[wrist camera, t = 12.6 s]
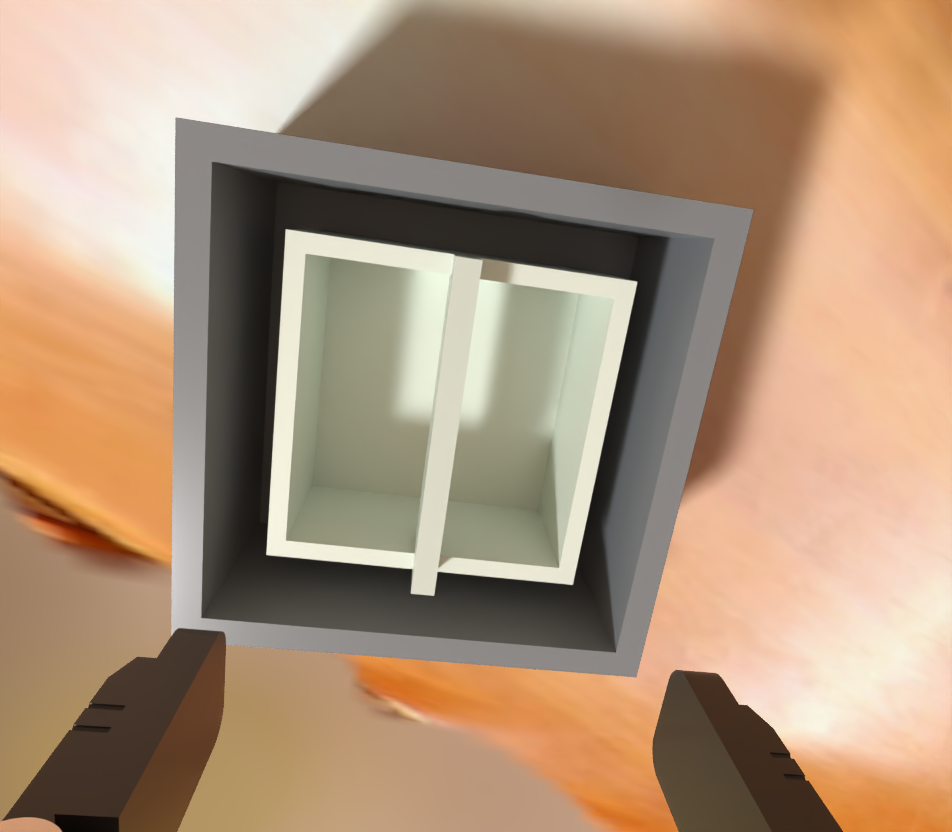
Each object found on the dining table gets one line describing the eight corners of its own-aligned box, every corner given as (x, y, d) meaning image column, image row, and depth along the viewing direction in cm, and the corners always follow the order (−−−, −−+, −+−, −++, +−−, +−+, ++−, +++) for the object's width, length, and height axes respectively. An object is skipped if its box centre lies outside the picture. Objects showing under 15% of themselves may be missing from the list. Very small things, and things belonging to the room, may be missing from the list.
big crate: (659, 216, 32) (753, 209, 23) (585, 564, 38) (636, 677, 28) (257, 153, 30) (175, 117, 21) (242, 531, 36) (171, 640, 26)
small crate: (595, 271, 32) (654, 285, 23) (547, 518, 36) (582, 609, 27) (318, 229, 31) (272, 228, 22) (299, 491, 34) (253, 579, 26)
